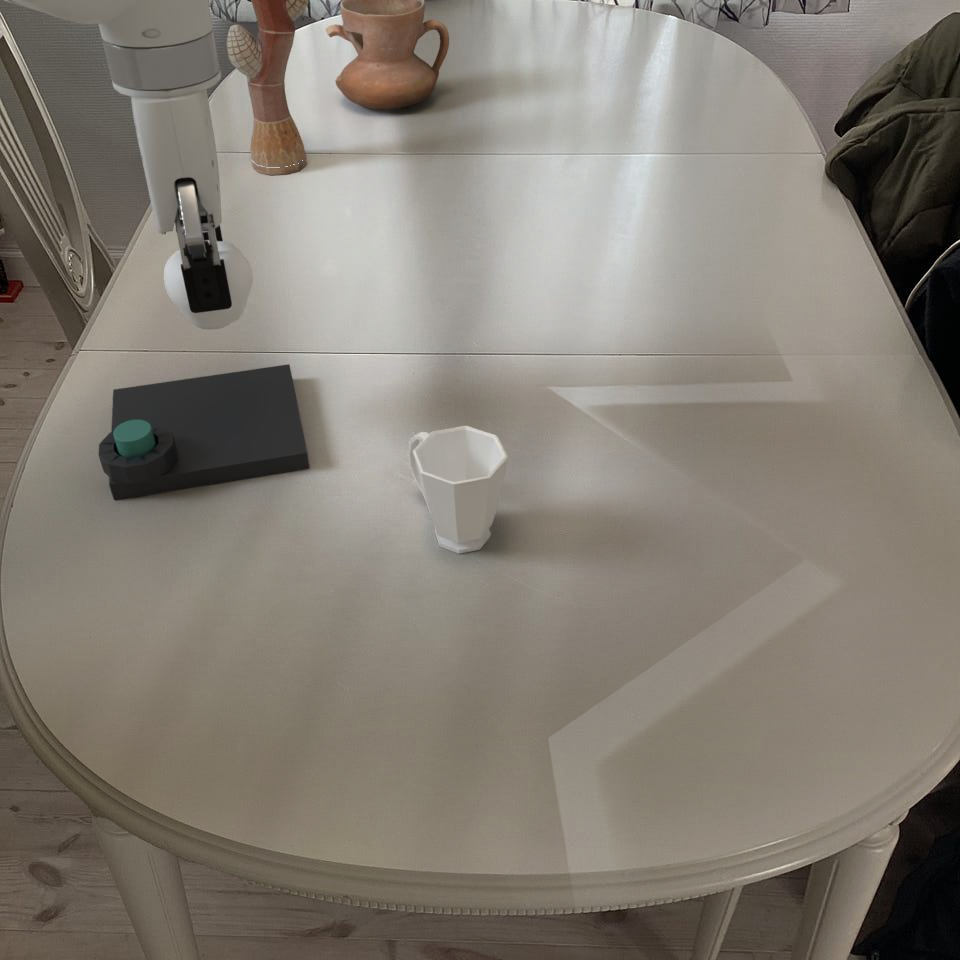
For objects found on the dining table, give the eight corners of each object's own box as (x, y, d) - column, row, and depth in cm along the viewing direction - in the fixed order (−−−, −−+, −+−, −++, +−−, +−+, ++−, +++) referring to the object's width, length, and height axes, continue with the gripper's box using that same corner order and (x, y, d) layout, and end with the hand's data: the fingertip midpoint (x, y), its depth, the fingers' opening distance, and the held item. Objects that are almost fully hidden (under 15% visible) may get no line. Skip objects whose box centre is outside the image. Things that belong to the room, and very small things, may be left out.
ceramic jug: (335, 122, 148) (324, 18, 139) (331, 88, 159) (321, -9, 150) (457, 114, 150) (455, 11, 141) (445, 81, 161) (442, -16, 152)
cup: (453, 579, 76) (450, 497, 70) (378, 510, 82) (370, 430, 77) (526, 538, 79) (527, 457, 74) (448, 475, 85) (445, 396, 80)
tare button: (117, 461, 82) (112, 443, 81) (118, 439, 84) (113, 422, 83) (155, 455, 82) (151, 437, 81) (155, 433, 85) (151, 416, 84)
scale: (108, 504, 83) (97, 471, 80) (112, 405, 93) (103, 373, 91) (310, 471, 86) (305, 438, 83) (291, 379, 96) (286, 347, 94)
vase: (244, 176, 133) (201, -81, 114) (252, 154, 139) (213, -94, 120) (324, 174, 134) (295, -82, 114) (329, 152, 139) (302, -95, 120)
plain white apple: (167, 343, 82) (145, 252, 77) (180, 299, 87) (160, 211, 82) (255, 338, 82) (239, 247, 77) (262, 295, 87) (248, 207, 82)
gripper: (111, 29, 77) (160, 244, 88) (104, 107, 64) (163, 347, 75) (211, 21, 78) (248, 233, 90) (225, 95, 65) (265, 333, 77)
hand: (209, 283), depth 82 cm, fingers closed on plain white apple, 7 cm apart
